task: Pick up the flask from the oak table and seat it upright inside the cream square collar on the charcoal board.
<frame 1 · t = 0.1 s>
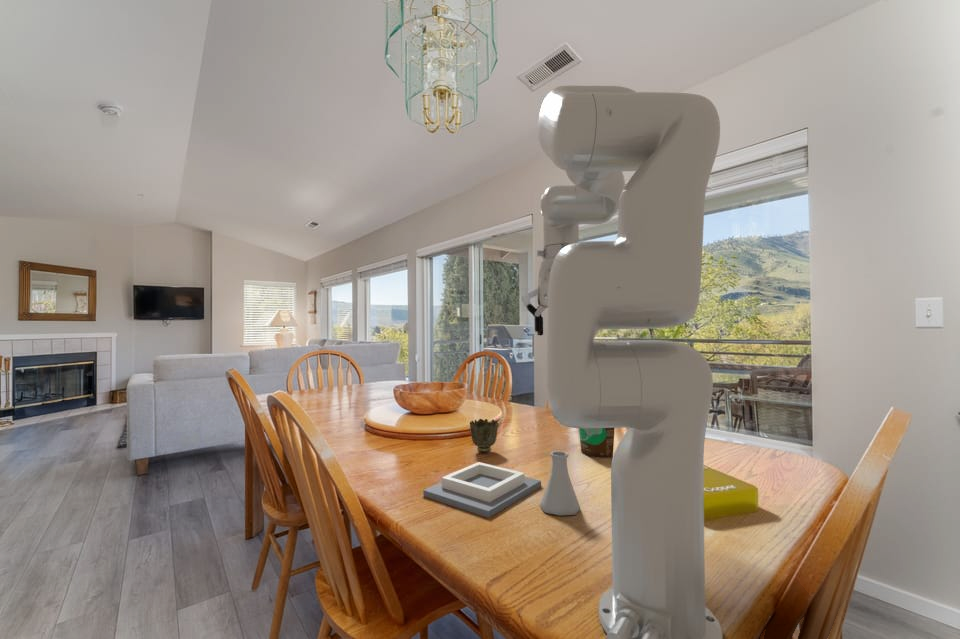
hand: (562, 334, 93), 31 cm above the table, tool pointing down, fingers open, 9 cm apart
element tile: (697, 502, 82), on the table
flask: (560, 509, 79), on the table
cup: (484, 452, 113), on the table
collar board: (483, 491, 87), on the table
food container: (590, 454, 111), on the table
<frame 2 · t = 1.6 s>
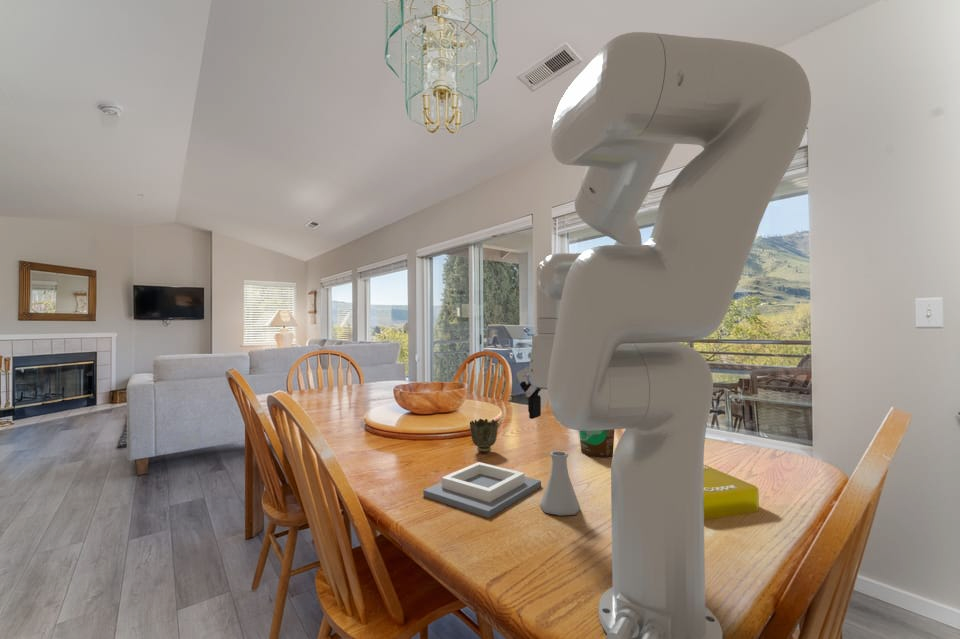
hand: (557, 421, 79), 16 cm above the table, tool pointing down, fingers open, 9 cm apart
nothing on the table moved.
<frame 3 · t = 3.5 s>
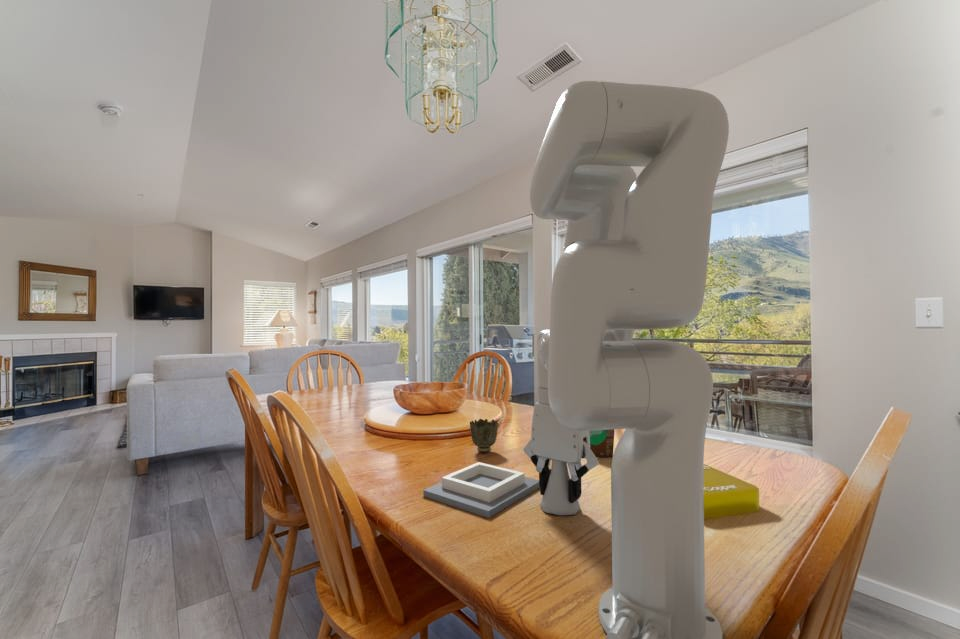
hand: (559, 495, 79), 2 cm above the table, tool pointing down, fingers closed on flask, 5 cm apart
flask: (560, 509, 79), on the table, touching gripper
everything else where it was.
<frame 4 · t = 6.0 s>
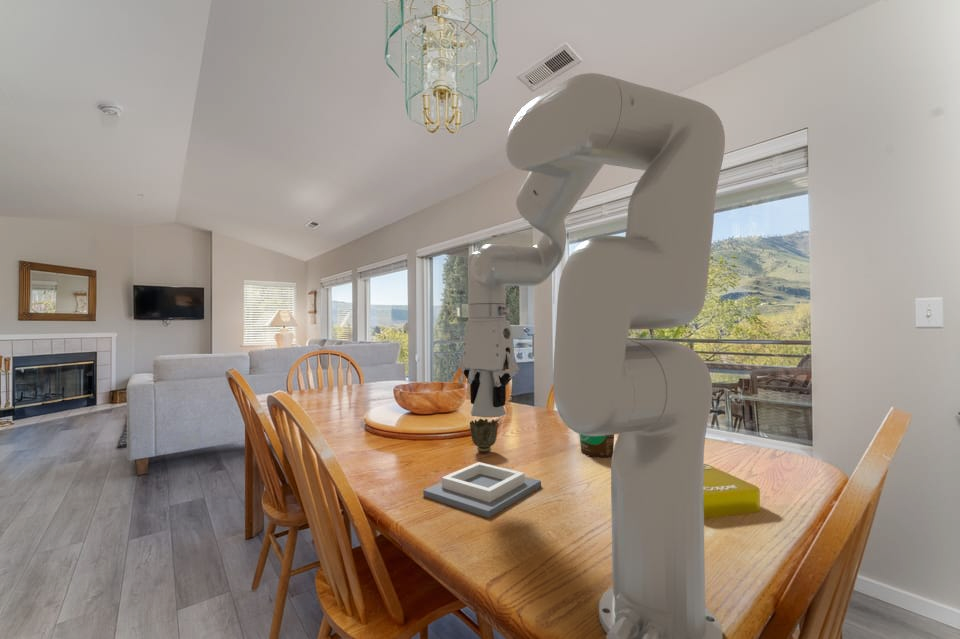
hand: (487, 403, 87), 18 cm above the table, tool pointing down, fingers closed on flask, 5 cm apart
flask: (488, 415, 87), point 15 cm above the table, touching gripper
everything else where it was.
when the fingers open (4 cm above the table, at t = 9.0 s): flask stays where it is, resting on collar board.
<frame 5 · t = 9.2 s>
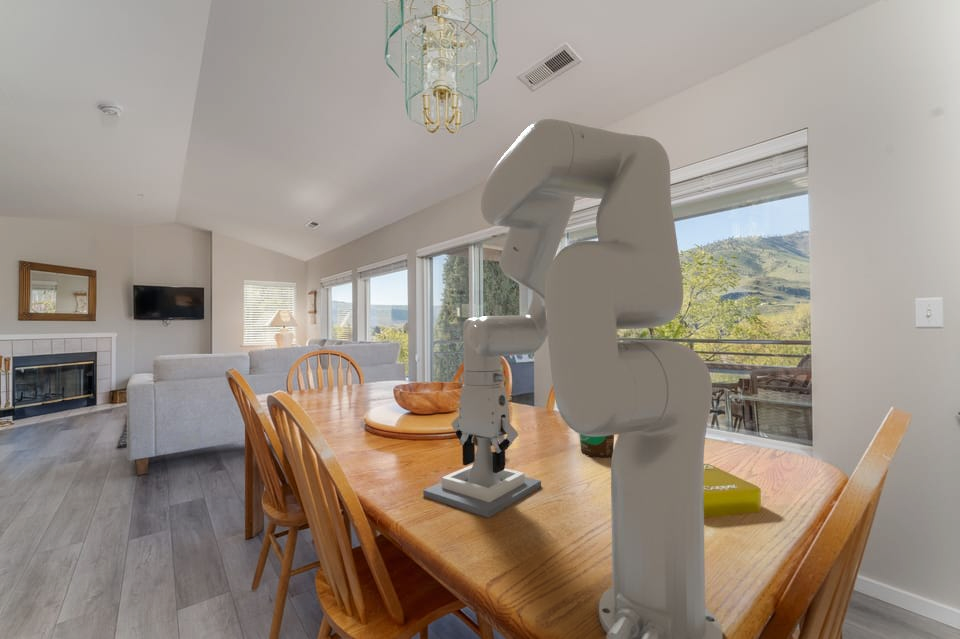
hand: (483, 466, 87), 5 cm above the table, tool pointing down, fingers open, 7 cm apart
flask: (484, 486, 87), point 1 cm above the table, touching collar board
everything else where it was.
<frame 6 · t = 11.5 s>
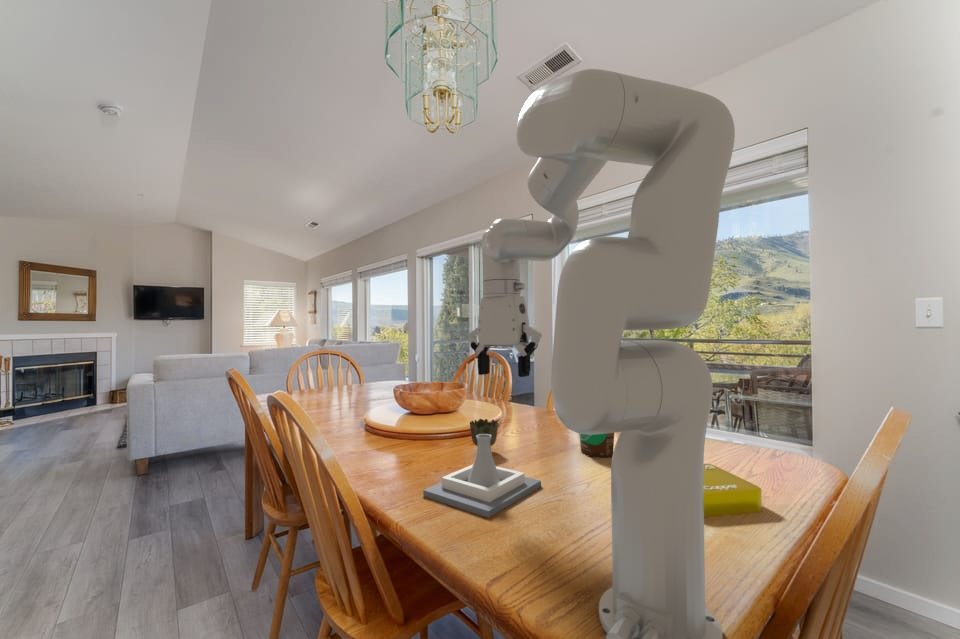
hand: (503, 375, 87), 23 cm above the table, tool pointing down, fingers open, 9 cm apart
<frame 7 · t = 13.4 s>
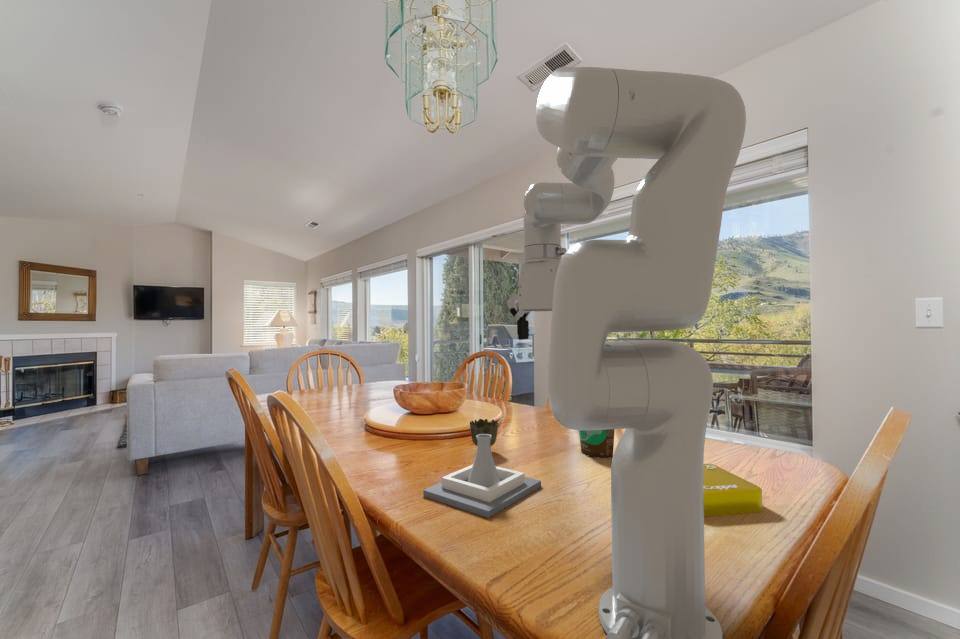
hand: (543, 339, 89), 30 cm above the table, tool pointing down, fingers open, 9 cm apart
at the end: flask 0.2 cm off-centre on the collar board, point 1.0 cm above the collar board's base; flask tilted 0°; the gripper is holding nothing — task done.
